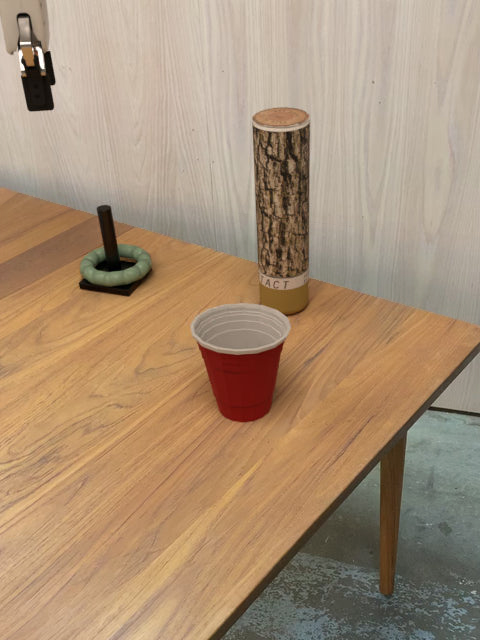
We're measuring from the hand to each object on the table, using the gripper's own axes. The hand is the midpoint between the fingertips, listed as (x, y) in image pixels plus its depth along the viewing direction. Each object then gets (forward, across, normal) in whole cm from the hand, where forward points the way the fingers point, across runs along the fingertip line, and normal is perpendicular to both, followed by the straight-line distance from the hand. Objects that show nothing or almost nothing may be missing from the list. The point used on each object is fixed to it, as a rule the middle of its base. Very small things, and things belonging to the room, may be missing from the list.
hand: (42, 97), depth 99 cm
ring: (+23, +2, +6) cm, 24 cm away
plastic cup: (+25, +37, +20) cm, 49 cm away
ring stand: (+25, +2, +6) cm, 26 cm away
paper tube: (+24, +15, +29) cm, 41 cm away
